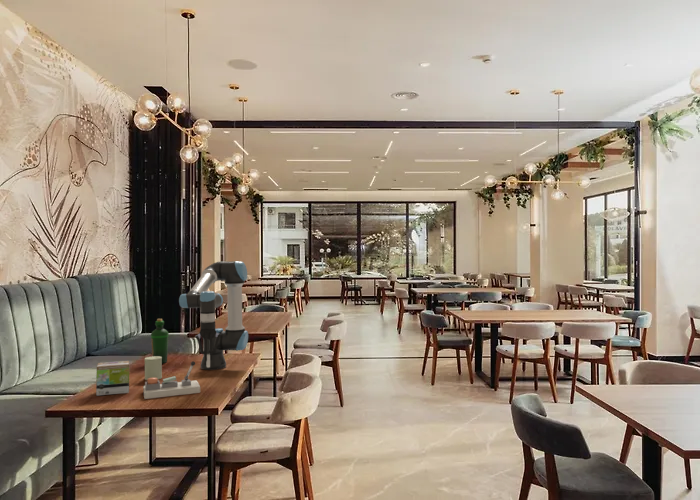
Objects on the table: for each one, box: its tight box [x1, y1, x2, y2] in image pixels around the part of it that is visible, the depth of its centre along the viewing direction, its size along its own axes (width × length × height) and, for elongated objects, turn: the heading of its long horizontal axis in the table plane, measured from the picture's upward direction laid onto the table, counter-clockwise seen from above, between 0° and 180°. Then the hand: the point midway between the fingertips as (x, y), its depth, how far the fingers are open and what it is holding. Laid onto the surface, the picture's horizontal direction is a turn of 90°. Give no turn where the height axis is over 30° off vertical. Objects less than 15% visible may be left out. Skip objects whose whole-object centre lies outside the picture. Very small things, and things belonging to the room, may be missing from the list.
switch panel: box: [143, 378, 201, 400], centre depth 257 cm, size 26×14×6 cm, turn 114°
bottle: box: [150, 318, 169, 365], centre depth 327 cm, size 11×11×28 cm
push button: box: [147, 378, 159, 384], centre depth 254 cm, size 5×5×3 cm
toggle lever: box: [183, 360, 196, 380], centre depth 261 cm, size 2×2×10 cm
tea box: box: [95, 360, 130, 397], centre depth 258 cm, size 15×10×15 cm
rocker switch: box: [162, 375, 177, 383], centre depth 257 cm, size 6×4×1 cm, turn 114°
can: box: [144, 355, 163, 381], centre depth 286 cm, size 9×9×12 cm
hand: (208, 366), depth 264 cm, fingers closed
